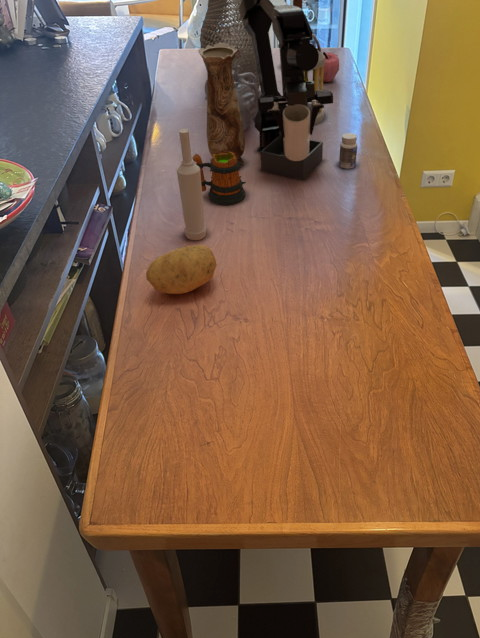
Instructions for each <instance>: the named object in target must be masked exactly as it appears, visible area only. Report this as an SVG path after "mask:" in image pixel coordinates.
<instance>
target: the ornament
mask: <svg viewBox="0 0 480 638" xmlns="http://www.w3.org/2000/svg"><path fill="white" fill-rule="evenodd" d="M236 68H238V70H237V71H236V70H235V71H236V72H235V71H233V70H232V74H233V78H234V79H235V81H236V82H234V85H235V91H236V95H237V100H238V104H239V109H240V114H241V118H242V123H243V128H244V131H245V130H246V129H248V128H249V127H250V126H251V125H255V123H254V119H255V117H256V115H257V112H258V105H257V98H258V97H259V96H261V92H260V89H259V90H258V88H257V86H256V76H255V75H254V74H253V73H251V72H248V73H243V74H238V73H239V72H240V70H241V66H239V65H238V66H237V67H236ZM246 77H250V78H251V80H250V81H245V80H244V79H243V78H246ZM207 85H208V81H207V79H206V80H205V83H204V94H205V97H204V98H205V100H206V101H207ZM254 91H255V94H254V93H253V92H254Z"/></svg>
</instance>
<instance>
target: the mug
mask: <svg viewBox="0 0 480 638" xmlns="http://www.w3.org/2000/svg"><path fill="white" fill-rule="evenodd" d="M192 160H193V161H194V163H195V164H196V165H197V166H199V167H200V173H201V185H202V193H203V192H206V190H207V186H209V187H210V188H209V191H208V200H209V201H210V202H212V203H213V204H216V205H219V206H233V205H236V204H239V203H241V202H242V201H244V200H245V198H246V191H245V189H244V187H243V185H244V184H247V181H242V176H241V175H240V168H241V167H243V166H244V165H245V164H242V163H239V162H238V160H239V159H236V156H235V154H234V153H233V152H230V151H229V152H228V153H220V154H213V156H211V159H210V162H203V159H202V157H201V155H200V154H199V153H195V154H194V155H193V156H192ZM242 165H243V166H242ZM240 166H241V167H240ZM239 167H240V168H239ZM204 168H210V170H209V172H211V176H210V179H211V180H210V181H207V180H206V179H205V175H204Z"/></svg>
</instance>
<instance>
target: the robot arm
mask: <svg viewBox="0 0 480 638" xmlns="http://www.w3.org/2000/svg"><path fill="white" fill-rule="evenodd" d="M240 16H241V19H242V20H243V24H244V28H245V29H246V31H247V32H248V33H249V35H250V36H251V37H252V41H253V47H254V53H255V59H256V65H257V71H258V77H259V83H260V86H259V90H260V96H259V97H258V98H257V105H258V112H257V115H256V117H255V119H254V128H255V130H256V131H257V132H258V134H259V135H258V136H259V138H258V139H259V147H258V148H257V149H256V152H259V153H260V152H261V151H262V150H263V149H264V148H265V147H266V146H268V145H269V144H270V143H271V142H272V141H273V140H275V139H276V138H277V137H278V136H279V135H282V138H284V130H283V110H284V109H285V107H287V105H289V106H294V105H297V104H302V105H304V104H307V102H308V103H309V104H310V136H312V135H313V132H314V128H315V125H316V124H315V120H316V117H317V115H318V112H319V110H320V109H321V108H322V109H324V108H325V105H330V104H331V105H332V104H334V94H333V92H332V91H331V90H330V89H327V88H326V89H323V90H320V89H319V90H315V87H314V81H313V80H309V81H307V82H306V83H305V72H304V71H308V72H310V71H313V68H315V66H316V65H317V63H318V60H319V53H318V51H317V49H318V48H317V46H315V45H314V44H313V43H311V41H313V40H314V38H313V37H312V34H313V30H312V27H311V25H310V23H309V20H308V18H307V15H306V13H305V12H304V10H303V8H302V9H301V8H299V7H297V6H293V4H292V5H291V4H288V3H287V2H286V1H285V0H242V2H241V4H240ZM271 28H272V31H273V34H274V35H275V37H276V40H277V41H278V45H277V47H278V49H279V58H280V59H279V60H280V74H281V87H282V94H281V93H280V91H279V90H278V83H277V78H276V71H275V64H274V58H273V51H272V45H271V39H270V31H271ZM316 48H317V49H316Z"/></svg>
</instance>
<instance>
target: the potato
mask: <svg viewBox="0 0 480 638" xmlns="http://www.w3.org/2000/svg"><path fill="white" fill-rule="evenodd" d="M217 266H218V264H217V259H216V256H215V255H214V252H213V250H212V249H211V247H209V246H206V245H204V244H194V245H193V244H192V245H187V246H183V247H178V248H176V249H173V250H171V251H169V252H166V253H163V254H162V255H160V256H158V257H156V258H155V259H154V260H153V261H152V262H150V264H149V266H148V268H147V270H146V273H145V275H146V280H147V281H148V282H149V284H150V285H151V286H152V288H153V289H154V290H155V291H158V292H160V293H164V294H169V295H181V294H187V293H189V292H192V291H194V290H196V289H198V288H199V287H201V286H203V285H204V284H206V283H208V282H209V281H210V280H211V279H213V277H214V273H215V271H216V268H217Z"/></svg>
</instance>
